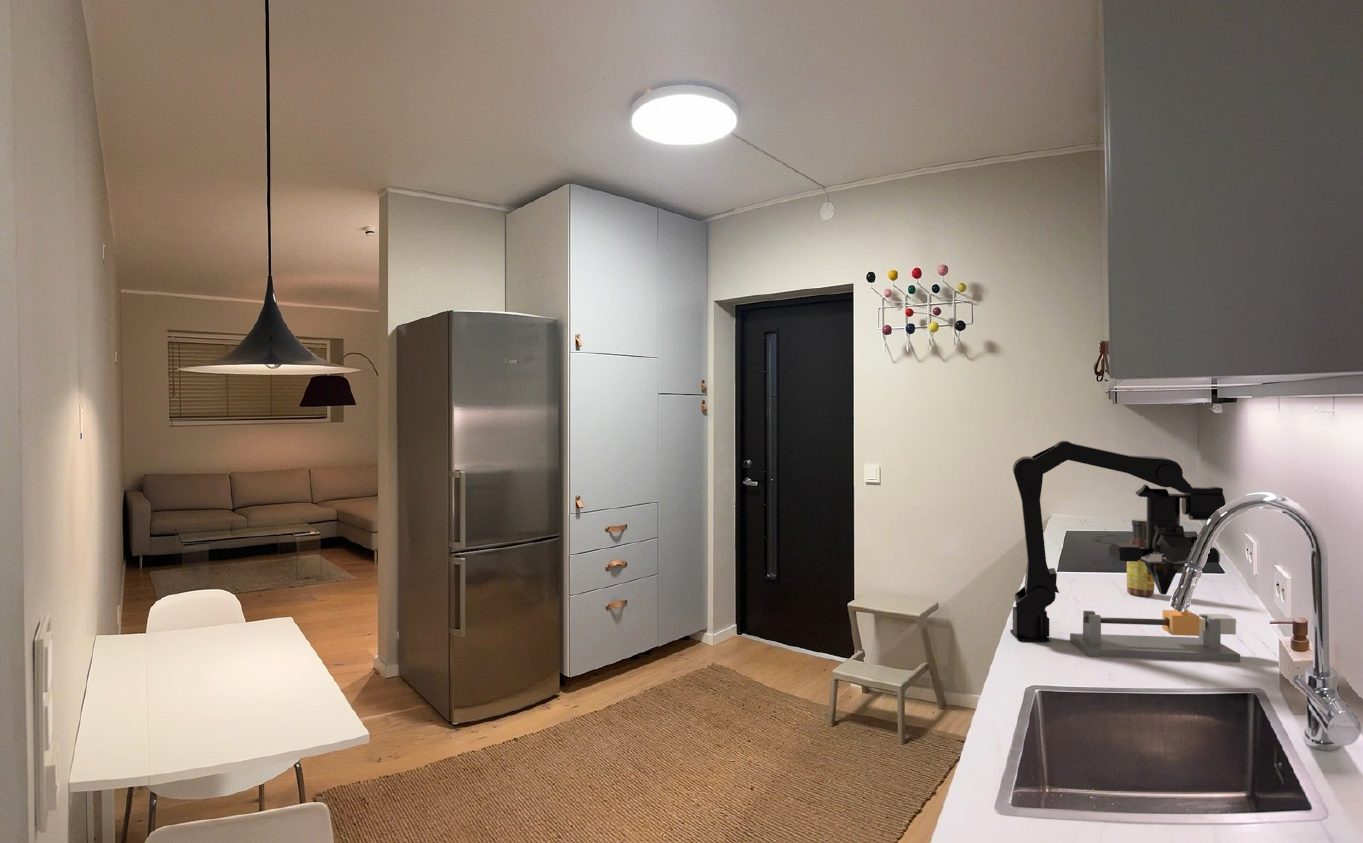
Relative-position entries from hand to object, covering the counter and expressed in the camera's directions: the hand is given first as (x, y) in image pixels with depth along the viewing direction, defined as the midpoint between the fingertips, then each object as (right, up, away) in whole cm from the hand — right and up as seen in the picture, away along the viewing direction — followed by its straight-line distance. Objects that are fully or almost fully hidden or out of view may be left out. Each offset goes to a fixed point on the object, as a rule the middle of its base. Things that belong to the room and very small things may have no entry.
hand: (1162, 594), depth 151 cm
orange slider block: (+3, -8, 0) cm, 9 cm away
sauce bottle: (+23, -11, +44) cm, 50 cm away
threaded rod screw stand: (-2, -12, +1) cm, 12 cm away
